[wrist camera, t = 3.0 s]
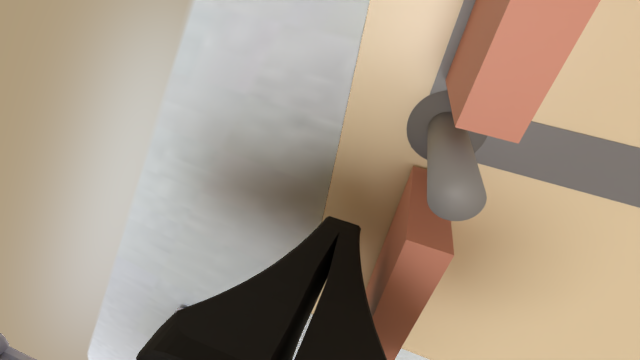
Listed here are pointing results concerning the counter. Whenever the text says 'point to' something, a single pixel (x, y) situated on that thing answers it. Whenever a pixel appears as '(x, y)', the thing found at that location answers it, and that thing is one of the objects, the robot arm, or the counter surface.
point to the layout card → (507, 189)
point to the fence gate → (408, 265)
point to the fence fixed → (496, 90)
